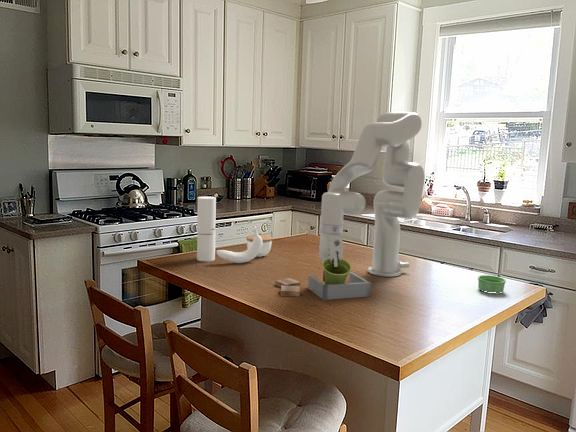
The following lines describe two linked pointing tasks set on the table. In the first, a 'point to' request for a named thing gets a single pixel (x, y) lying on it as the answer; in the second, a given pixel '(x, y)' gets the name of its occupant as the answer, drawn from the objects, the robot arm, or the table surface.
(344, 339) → the table surface
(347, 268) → the plant pot
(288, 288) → the tile
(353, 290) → the u-shaped fence
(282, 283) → the tile
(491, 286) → the ramekin
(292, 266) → the table surface
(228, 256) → the white curved piece
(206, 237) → the cylindrical container
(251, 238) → the lidded jar
